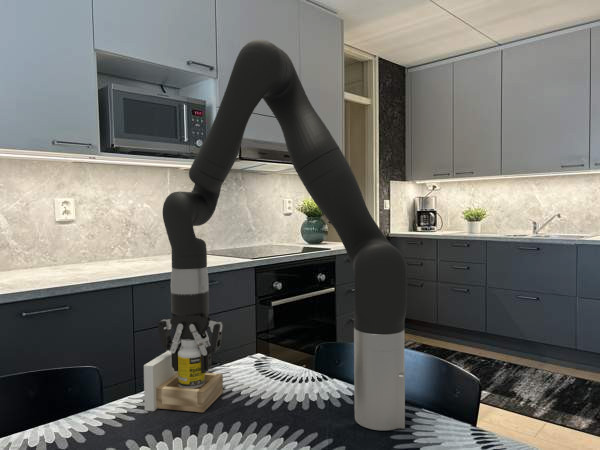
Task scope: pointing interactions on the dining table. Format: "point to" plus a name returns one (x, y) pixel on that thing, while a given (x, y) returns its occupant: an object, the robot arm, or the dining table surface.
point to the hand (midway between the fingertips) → (191, 370)
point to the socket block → (189, 394)
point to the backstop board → (156, 377)
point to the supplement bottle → (190, 365)
